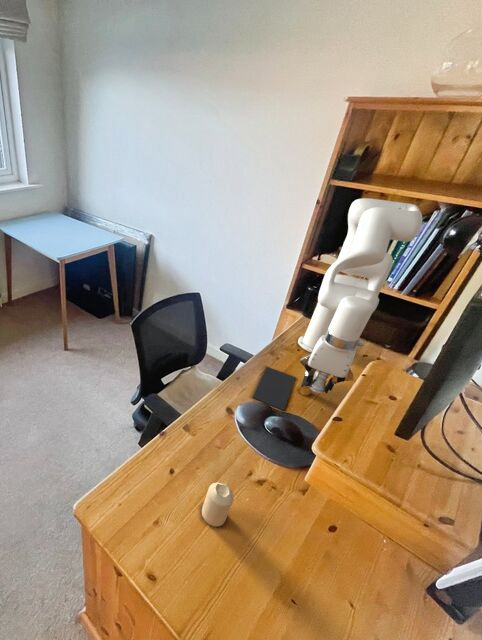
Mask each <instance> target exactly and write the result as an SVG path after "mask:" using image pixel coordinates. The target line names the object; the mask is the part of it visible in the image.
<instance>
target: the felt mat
mask: <svg viewBox="0 0 482 640" xmlns="http://www.w3.org/2000/svg"><path fill="white" fill-rule="evenodd" d="M295 379H296V377H295V376H293V375H290V374H288V373H286V372H282V371H279V370H278V369H277V370H276V369H275V368H272V367H268V366H266V367H265V370H264V372H263V374H262V376H261V378H260V380H259V383H258V384H257V387H256V389H255V391H254V393H253V395H252V399H254V400H257V401H258V402H261V403H264V404H266V405H268V406H271V407H274V408H276V409H278V410H280V411H283V412H284V411H285V409H286V406H287V404H288V400H289V397H290V394H291V391H292V388H293V386H294V382H295Z"/></svg>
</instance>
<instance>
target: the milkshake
mask: <svg viewBox="0 0 482 640" xmlns="http://www.w3.org/2000/svg"><path fill="white" fill-rule="evenodd" d="M318 373H319V371H316V372H315V374H314V377H313V380H314V379H316V377H317V376H318ZM307 376H308V372H307V370H305V372H304V375H303V379H302V383H301V386H300V388H299V393H300V394H301V395H302V396H305V397H306V396H307V397H308V396H310V395H311V393H312V392H313V391H312V390H311V389H310V387H309V386H307V383H308V382H306V379H307ZM313 380H312V381H313Z"/></svg>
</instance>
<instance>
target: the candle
mask: <svg viewBox="0 0 482 640" xmlns="http://www.w3.org/2000/svg"><path fill="white" fill-rule="evenodd" d="M234 496H235V495H234V493H233V491H232V489H231V488H230V487H229V486H228V485H227V484H224V483H223V482H213V483H211V484H210V485H209V487H208V489H207V492H206V496H205V499H204V501H203V505H202V507H201V516H202V518H203V520H204V521H205V522H206V523H207V524H209V526H211V527H216V528H217V527H221V526H223V525H224V524H225V522H226V521H227V517H228V515H229V513H230V509H231V507H232V505H233V502H234V498H235V497H234Z"/></svg>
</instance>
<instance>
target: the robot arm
mask: <svg viewBox="0 0 482 640" xmlns="http://www.w3.org/2000/svg"><path fill="white" fill-rule="evenodd" d="M347 225H348V226H347V227H348V228H347V235H346V237H345V239H344V241H343V245H342V247H341V249H340V252H339V255H338V257H337V259H336V261H334V262H333V263H332V264H331V265H330V266H329V268H328V269H327V270H326V272H325V274H324V276H323V279H322V282H321V285H320V288H319V292H318V296H317V303H316V306H315V308H314V311H313V314H312V316H311V318H310V320H309V321H310V322H309V324H308V325H307V328H306V330H305V334H304V335H301V336H300V337H299V338H298V340H297V344H298V345H299V347H300V348H302V349H303V350H305V351H306V352H307V353H310V354H308V355H305V356H303V357H302V358H300V360H299V363H300V364H301V365H302V366H303V367H304V369H305V371H307V372H308V376H307V379H306V382H308V383H307V386H310V384H311V382H312V380H313V377H314V374H315V372H318V371H319V370H320V371H322V372H325V373H328V374H331V375H330V376H332V377H330V378H329V380H328V381H327V384H326V385H325V386H326V389H325V392H324V393H325V394H328V393H329V391H332V390H333V388H334V386H335V385H337V384H339V383H344V382H351V381H354V378H355V377H354V374H353V372H352V371H353V370H352V369H351V367H352V365H353V363H354V359H355V356H356V353H357V349H358V347H363V345H364V341H362V340H360V337H361V335H362V333H364V332H363V331H364V330H365V328H366V326H367V324H368V322H369V320H370V318H371V317H372V314H373V313H374V312H375V311H376V309H377V307H378V305H379V304H380V303H379V302H380V298H379V295H380V293H381V291H382V288H383V286H384V284H385V282H386V280H387V278H388V277H389V274H390V272H391V270H392V267H393V264H394V263H393V262H394V259H393V256H392V255H391V254H390V253H388V247H389V244H390V241H398V242H403V243H404V242H405V243H408V242H412V241H414V239H416V237H417V236H418V235H419V233H420V231H421V228H422V225H423V214H422V212H421V210H420V208H419V207H418V206H417V205H416V204H413V203H407V202H402V201H401V202H400V201H393V200H385V199H380V198H379V199H378V198H368V197H364V198H363V197H362V198H358V199H355V200H354V201H352V202H351V204H350V207H349V209H348V213H347ZM340 273H343V274H340ZM344 274H347V275H344ZM350 275H351V276H350ZM354 276H355V277H354ZM357 277H361V278H357ZM363 278H366V279H363Z"/></svg>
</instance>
